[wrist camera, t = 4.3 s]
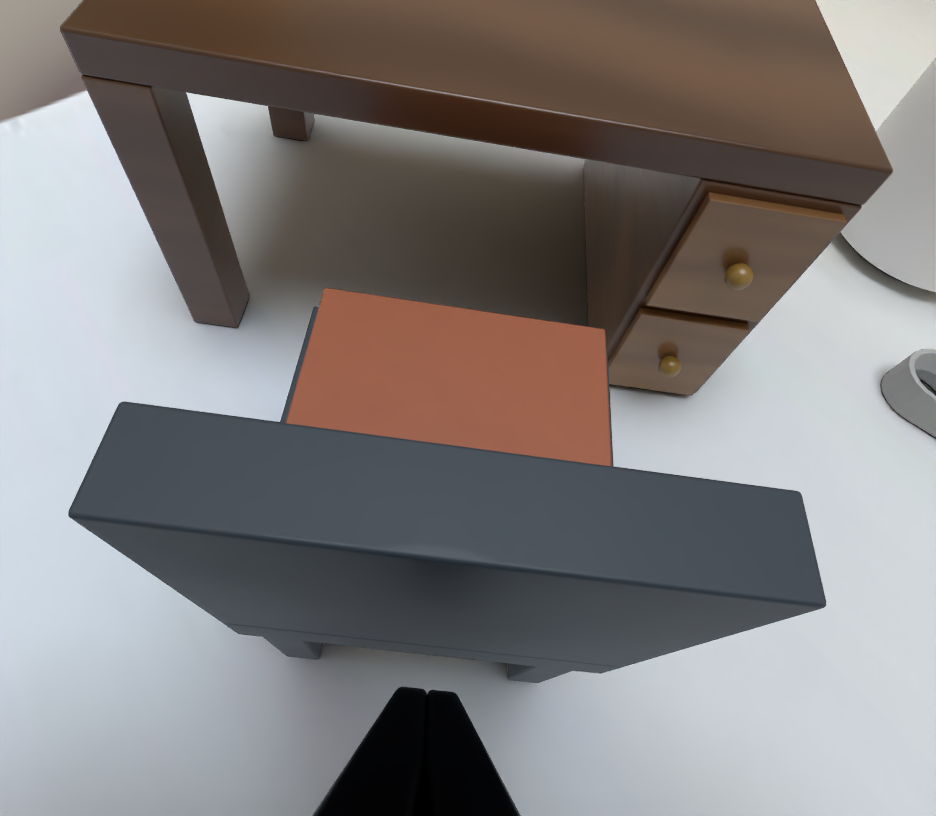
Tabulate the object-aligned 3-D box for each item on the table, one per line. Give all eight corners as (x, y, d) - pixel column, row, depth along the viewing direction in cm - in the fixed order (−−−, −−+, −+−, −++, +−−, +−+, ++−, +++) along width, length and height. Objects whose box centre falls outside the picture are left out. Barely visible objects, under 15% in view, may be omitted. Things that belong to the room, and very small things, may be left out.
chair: (545, 690, 15) (829, 608, 5) (277, 661, 15) (63, 515, 5) (548, 452, 19) (723, 146, 9) (333, 423, 18) (273, 68, 8)
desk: (698, 416, 20) (909, 200, 12) (184, 344, 19) (33, 52, 11) (665, 179, 27) (787, -64, 19) (281, 115, 26) (232, -174, 18)
